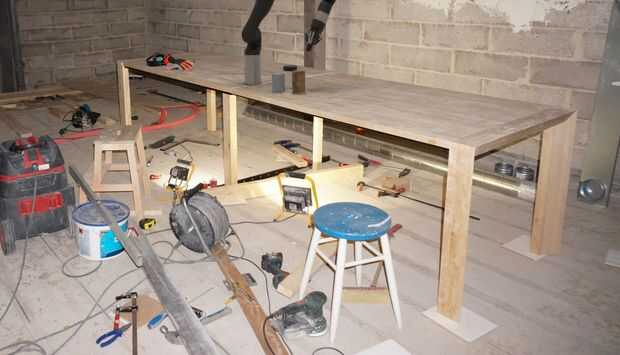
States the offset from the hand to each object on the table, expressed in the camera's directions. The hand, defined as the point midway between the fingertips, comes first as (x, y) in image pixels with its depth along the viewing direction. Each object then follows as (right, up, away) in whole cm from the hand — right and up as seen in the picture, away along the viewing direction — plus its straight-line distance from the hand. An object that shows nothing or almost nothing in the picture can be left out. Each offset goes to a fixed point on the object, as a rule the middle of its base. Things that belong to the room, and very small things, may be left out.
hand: (307, 51), depth 302 cm
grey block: (-16, -21, +5) cm, 27 cm away
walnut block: (-5, -23, +1) cm, 23 cm away
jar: (-10, -16, +20) cm, 27 cm away
